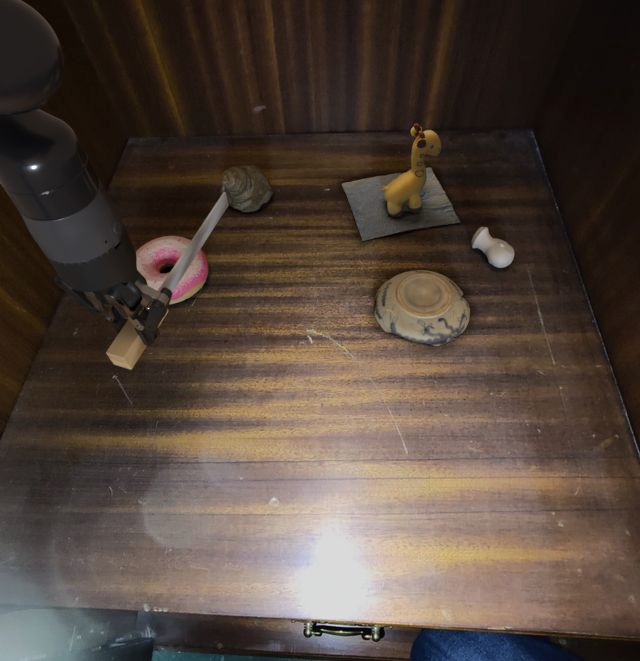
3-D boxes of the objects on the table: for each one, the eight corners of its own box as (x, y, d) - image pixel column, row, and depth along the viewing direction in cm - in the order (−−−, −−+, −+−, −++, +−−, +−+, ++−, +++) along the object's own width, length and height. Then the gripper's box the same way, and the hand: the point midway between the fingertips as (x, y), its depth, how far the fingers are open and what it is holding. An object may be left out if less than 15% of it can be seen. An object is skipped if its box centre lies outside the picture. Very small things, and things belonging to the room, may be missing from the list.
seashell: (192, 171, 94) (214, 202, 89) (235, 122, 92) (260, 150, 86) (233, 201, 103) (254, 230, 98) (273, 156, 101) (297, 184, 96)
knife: (131, 370, 60) (123, 358, 57) (113, 364, 60) (105, 352, 58) (235, 206, 75) (232, 192, 73) (220, 203, 76) (216, 189, 74)
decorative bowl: (356, 294, 84) (407, 362, 76) (356, 279, 81) (409, 348, 73) (433, 261, 88) (489, 323, 80) (436, 245, 85) (495, 308, 77)
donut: (163, 325, 82) (153, 305, 78) (115, 283, 87) (104, 262, 83) (227, 276, 87) (221, 256, 83) (178, 240, 93) (171, 219, 89)
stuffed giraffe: (460, 223, 92) (474, 143, 79) (362, 243, 91) (361, 166, 78) (430, 170, 102) (439, 92, 89) (341, 188, 101) (337, 111, 88)
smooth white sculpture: (513, 271, 87) (492, 275, 84) (484, 240, 91) (463, 244, 89) (527, 251, 84) (505, 255, 81) (496, 221, 88) (474, 224, 85)
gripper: (-7, 243, 47) (74, 347, 62) (123, 277, 44) (177, 378, 59) (43, 191, 51) (108, 300, 66) (166, 219, 48) (206, 326, 63)
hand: (141, 336), depth 62 cm, fingers closed on knife, 2 cm apart
